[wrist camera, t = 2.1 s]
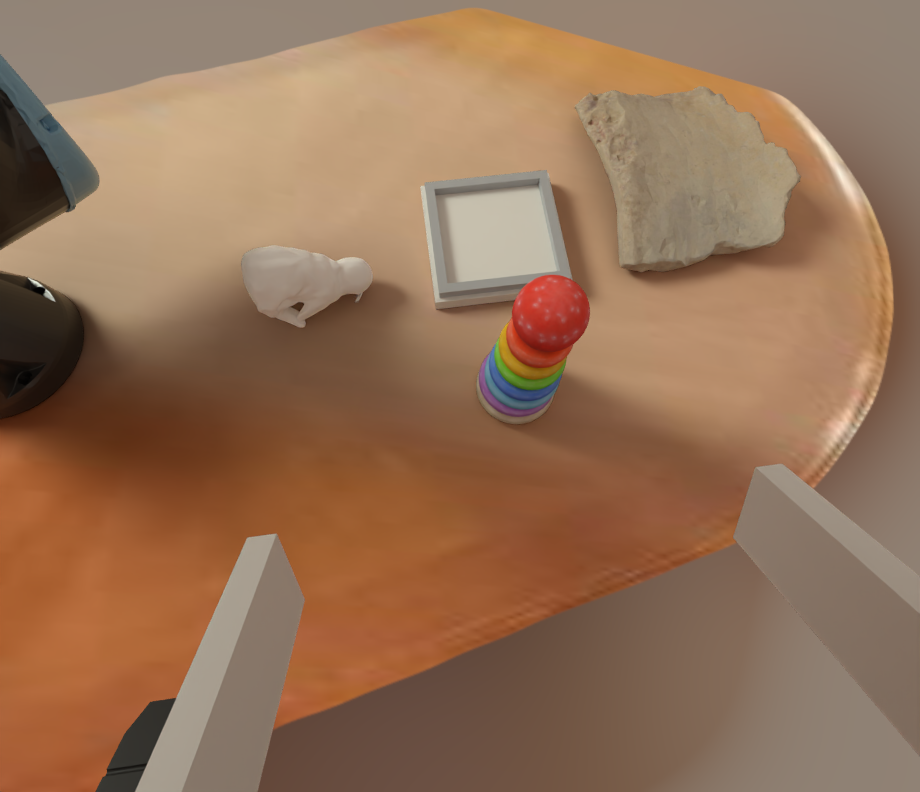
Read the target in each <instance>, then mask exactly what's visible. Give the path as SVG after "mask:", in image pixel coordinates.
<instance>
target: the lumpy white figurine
mask: <svg viewBox="0 0 920 792" xmlns="http://www.w3.org/2000/svg"><path fill="white" fill-rule="evenodd" d="M241 267H242V276H243V281H244V284H245V287H246V289H247V292H248V293H249V295H250V297H251V299H252V300H253V302H254V303H255V304H256V306H257V310H258V311H259V312H261V313H263V314H265V315H267V316H268V317H270V318H274V317H275V318H277V319H279V320H282V321H286V322H288V323H290V324H292V325H295V326H297V327H301V328H302V327H305V325H306V322H305V319H307V318H309V317H311V316H312V315H314V314H316V313H317V312H319V311H321V310H323V309H325V308H326V307H327V306H328V305H329V304H331V303H333V302H335V301H337V300H338V299H339V298H340V297H341V296H343V295H346V294H357V295H358V294H359V295H358V297H357V296H356V297H357V299H356V300H357V301H359V299H360V298H361V296H362V293H363V291H365V290H366V289H367V288H369V286H370V284H371V283H372V279H373V274H372V270H371V268H370V266H369V264H368V263H367V262H366V261H365V260H363V259H361V258H357V257H348V258H343V259H340V260H338V261H335V260H332V259H330V258H329V257H327V256H326V255H324V254H318V253H311V252H309V251H307V250H300V249H296V248H290V247H282V246H278V245H271V246H268V247H261V248H255V249H253V250H250V251H248V252H246V253H245V254H244V255H243V257H242V261H241ZM356 297H355V298H356ZM353 300H354V299H353ZM357 301H355V302H357ZM297 302H303V303H304V306H303V307H302V309H301V311H300V312H299V311H298V310H296V309H294V308H291V307H290V306H293V305H294V304H296V303H297ZM355 302H354V303H355Z"/></svg>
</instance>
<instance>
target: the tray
mask: <svg viewBox="0 0 920 792" xmlns="http://www.w3.org/2000/svg"><path fill="white" fill-rule="evenodd" d="M420 187H421V196H422V203H423V211H424V219H425V227H426V235H427V243H428V250H429V258H430V266H431V274H432V282H433V290H434V297H435V305H436V309H443V308H452V307H460V306H469V305H477V304H486V303H495V302H503V301H512V300H515V299H516V297H517V295H518V294H519V292H520V291H521V289H522V288H523V287H524V286H525V285H526V284H528V283H529V282H530V281H532V280H534V279H535V278H538V277H541V276H545V275H561V276H564V277H567V278H569V279H571V280H573V279H572V275H571V270H570V266H569V261H568V257H567V253H566V248H565V244H564V239H563V235H562V231H561V226H560V222H559V218H558V213H557V209H556V204H555V200H554V196H553V191H552V187H551V182H550V178H549V174H548V173H547V170H543V171H533V172H523V173H513V174H504V175H494V176H484V177H475V178H465V179H455V180H446V181H436V182H426V183H425V186H420Z"/></svg>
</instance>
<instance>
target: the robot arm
mask: <svg viewBox="0 0 920 792" xmlns="http://www.w3.org/2000/svg"><path fill="white" fill-rule="evenodd" d="M98 186H99V174H98V172H97V170H96V168H95V167H94V165H93V164H92V162H91V161H90V160H89V159H88V157H87V156H86V155H85V154H84V152H83V151H82V150H81V149H80V147H79V146H78V145H77V144H76V143H75V141H74V140H73V139H72V138H71V137H70V135H69V134H68V133H67V132H66V131H65V130H64V128H63V127H62V126H61V125H60V124H59V123H58V122H57V121H56V120H55V118H54V117H53V116H52V114H51V113H50V112H49V111H48V110H47V109H46V107H45V106H44V105H43V104H42V102H41V101H40V100H39V99H38V98H37V96H36V95H35V94H34V93H33V92H32V90H31V89H30V88H29V87H28V86H27V84H26V83H25V82H24V81H23V80H22V79H21V77H20V76H19V75H18V74H17V73H16V72H15V71H14V69H13V68H12V67H11V66H10V65H9V64H8V62H7V61H6V60H5V59H4V58H3V57H2V56H1V55H0V250H1V249H3V248H4V247H6V246H8V245H9V244H11V243H13V242H14V241H16V240H18V239H19V238H21V237H23V236H24V235H26V234H28V233H29V232H31V231H33V230H34V229H36V228H38V227H40V226H41V225H43V224H45V223H47V222H48V221H50V220H52V219H54V218H55V217H57V216H59V215H61V214H62V213H64V212H70V211H72V210H74V209H75V207H76V204H77V203H79V202H80V201H82V200H83V199H85V198H86V197H87V196H89V195H90V194H92V193H93V192H94V191H96V189H97V188H98ZM82 344H83V324H82V320H81V317H80V314H79V312H78V310H77V309H76V307H75V306H74V304H73V303H72V302H71V301H70V300H69V299H68V298H67V297H66V296H64V295H63V294H61V293H60V292H58V291H56V290H54V289H52V288H51V287H49V286H47V285H45V284H43V283H41V282H39V281H37V280H34V279H31V278H28V277H25V276H21V275H16V274H12V273H8V272H4V271H0V418H5V417H9V416H13V415H16V414H19V413H22V412H24V411H26V410H28V409H30V408H32V407H34V406H36V405H38V404H39V403H41V402H42V401H44V400H45V399H46V398H48V397H49V396H50V395H51V394H53V393H54V392H55V391H56V390H57V389H58V388H59V387H60V386H61V385H62V384H63V382H64V381H65V380H66V379H67V377H68V376H69V375H70V373H71V372H72V370H73V368H74V367H75V365H76V363H77V360H78V358H79V355H80V352H81V349H82ZM733 538H734V539H735V540H736V542H737V543H738V544H739V545H740V546H741V547H742V548H743V550H744V551H745V552H746V553H747V554H748V556H749V557H750V558H751V559H752V560H753V561H754V563H755V564H756V565H757V566H758V567H759V568H760V570H761V571H762V572H763V573H764V574H765V575H766V577H767V578H768V579H769V580H770V581H771V582H772V584H773V585H774V586H775V587H776V588H777V590H778V591H779V592H780V593H781V594H782V595H783V597H784V598H785V599H786V600H787V601H788V602H789V604H790V605H791V606H792V607H793V608H794V610H795V611H796V612H797V613H798V614H799V615H800V617H801V618H802V619H803V620H804V621H805V622H806V624H807V625H808V626H809V627H810V628H811V630H812V631H813V632H814V633H815V634H816V635H817V637H818V638H819V639H820V640H821V641H822V642H823V643H824V645H825V646H826V647H827V648H828V649H829V651H830V652H831V653H832V654H833V655H834V656H835V658H836V659H837V660H838V661H839V662H840V663H841V665H842V666H843V667H844V668H845V669H846V671H847V672H848V673H849V674H850V675H851V676H852V678H853V679H854V680H855V681H856V682H857V683H858V685H859V686H860V687H861V688H862V689H863V691H864V692H865V693H866V694H867V695H868V696H869V697H870V699H871V700H872V701H873V702H874V703H875V705H876V706H877V707H878V708H879V709H880V710H881V712H882V713H883V714H884V715H885V716H886V717H887V719H888V720H889V721H890V722H891V723H892V724H893V726H894V727H895V728H896V729H897V730H898V731H899V733H900V734H901V735H902V736H903V737H904V739H906V741H907V742H908V743H909V744H910V745H911V747H912V748H913V749H914V750H915V751H916V753H917V754H918V755H919V756H920V576H919V575H918V574H916V573H915V572H914V571H913V570H912V569H910V568H909V567H908V566H906V565H905V564H904V563H903V562H902V561H901V560H899V559H898V558H897V557H896V556H895V555H893V554H892V553H891V552H890V551H888V550H887V549H886V548H885V547H883V546H882V545H881V544H880V543H879V542H877V541H876V540H875V539H873V538H872V537H871V536H870V535H869V534H868V533H866V532H865V531H864V530H863V529H861V528H860V527H859V526H858V525H856V524H855V523H854V522H853V521H852V520H850V519H849V518H848V517H847V516H846V515H844V514H843V513H841V511H839V510H838V509H837V508H836V507H835V506H833V505H832V504H831V503H830V502H828V501H827V500H826V499H825V498H824V497H822V496H821V495H820V494H819V493H817V492H816V491H815V490H814V489H812V488H811V487H810V486H809V485H808V484H806V483H805V482H804V481H803V480H801V479H800V478H799V477H798V476H797V475H795V474H794V473H793V472H792V471H790V470H789V469H788V468H787V467H786V466H784V465H783V464H775V465H768V466H761V467H755V470H754V473H753V476H752V479H751V483H750V486H749V489H748V492H747V495H746V498H745V502H744V505H743V508H742V511H741V514H740V517H739V520H738V524H737V527H736V530H735V533H734V536H733ZM304 601H305V599H304V596H303V594H302V592H301V589H300V587H299V585H298V582H297V580H296V578H295V575H294V573H293V571H292V568H291V566H290V564H289V561H288V559H287V557H286V554H285V552H284V550H283V547H282V545H281V543H280V540H279V538H278V536H277V534H270V535H263V536H255V537H248V538H247V540H246V542H245V544H244V546H243V549H242V551H241V553H240V555H239V558H238V560H237V562H236V564H235V567H234V569H233V571H232V573H231V576H230V578H229V580H228V583H227V585H226V587H225V589H224V592H223V594H222V596H221V598H220V601H219V603H218V605H217V607H216V610H215V612H214V614H213V616H212V619H211V621H210V623H209V626H208V628H207V630H206V632H205V635H204V637H203V639H202V641H201V644H200V646H199V648H198V650H197V653H196V655H195V657H194V659H193V662H192V664H191V666H190V669H189V671H188V673H187V675H186V678H185V680H184V682H183V684H182V687H181V689H180V691H179V693H178V696H177V698H173V699H166V700H160V701H153V702H150V703H149V704H148V706H147V707H146V708H145V709H144V711H143V712H142V713H141V714H140V716H139V717H138V718H137V719H136V720H135V722H134V723H133V724H132V725H131V727H130V728H129V729H128V730H127V732H126V733H125V734H124V736H123V738H122V740H121V742H120V744H119V746H118V748H117V750H116V752H115V754H114V756H113V758H112V760H111V762H110V764H109V766H108V768H107V774H106V776H105V777H103V778H102V780H101V782H100V784H99V786H98V788H97V790H96V792H257V791H258V787H259V782H260V779H261V775H262V770H263V767H264V762H265V759H266V754H267V751H268V746H269V742H270V738H271V734H272V730H273V726H274V722H275V718H276V714H277V710H278V706H279V702H280V698H281V694H282V690H283V686H284V682H285V678H286V674H287V670H288V666H289V662H290V658H291V654H292V650H293V646H294V641H295V637H296V633H297V629H298V625H299V621H300V617H301V613H302V609H303V605H304Z"/></svg>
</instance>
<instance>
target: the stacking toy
mask: <svg viewBox="0 0 920 792" xmlns="http://www.w3.org/2000/svg"><path fill="white" fill-rule="evenodd" d="M589 316H590V307H589V302H588V299H587V296H586V294H585V292H584V291H583V290H582V288H581V287H580V286H579V285H578V284H577V283H576V282H574V281H573V280H571V279H569V278H567V277H564V276H561V275H545V276H541V277H538V278H535V279H534V280H532V281H530V282H529V283H528V284H526V285H525V286H524V287H523V288H522V289H521V291H520V292H519V294H518V295H517V297H516V299H515V302H514V305H513V310H512V318H511V320H510V321H509V322H508V323H507V324H506V326H505V327H504V328H503V330H502V332H501V334H500V337H499V339H498V341H497V343H496V344H495V346H494V347H493V349H492V351H491V352H490V353H489V354H488V355H487V357H486V358H485V359H484V361H483V363H482V365H481V368H480V370H479V372H478V375H477V380H476V391H477V395H478V398H479V401H480V403H481V404H482V406H483V407H484V409H485V410H486V411H487V412H488V413H489V414H490V415H491V416H493V417H494V418H496V419H498V420H500V421H502V422H506V423H510V424H523V423H528V422H531V421H533V420H535V419H537V418H539V417H540V416H541V415H543V414H544V413H545V412H546V411H547V409H548V408H549V407H550V405H551V403H552V401H553V398H554V394H555V392H556V390H557V388H558V385H559V382H560V379H561V377H562V372H563V370H564V368H565V364H566V358H567V355H568V354H569V352H570V351H571V349H572V346H573V344H574V343H575V342H576V341H577V340H578V339H579V338H580V337H581V336H582V334H583V333H584V331H585V329H586V328H587V325H588V322H589Z"/></svg>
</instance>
